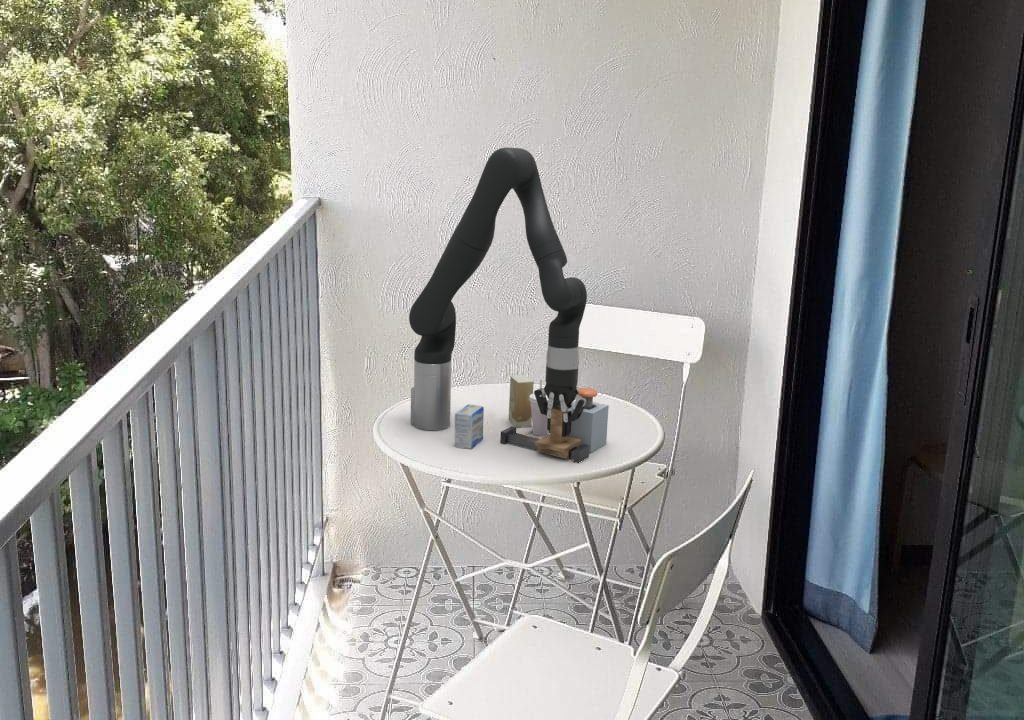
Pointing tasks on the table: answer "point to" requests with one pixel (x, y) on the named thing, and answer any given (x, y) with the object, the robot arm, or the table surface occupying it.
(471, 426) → the medicine box
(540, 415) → the smoothie
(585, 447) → the rail
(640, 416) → the table surface
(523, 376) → the skincare box
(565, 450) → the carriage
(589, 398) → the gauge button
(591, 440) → the grey button box
